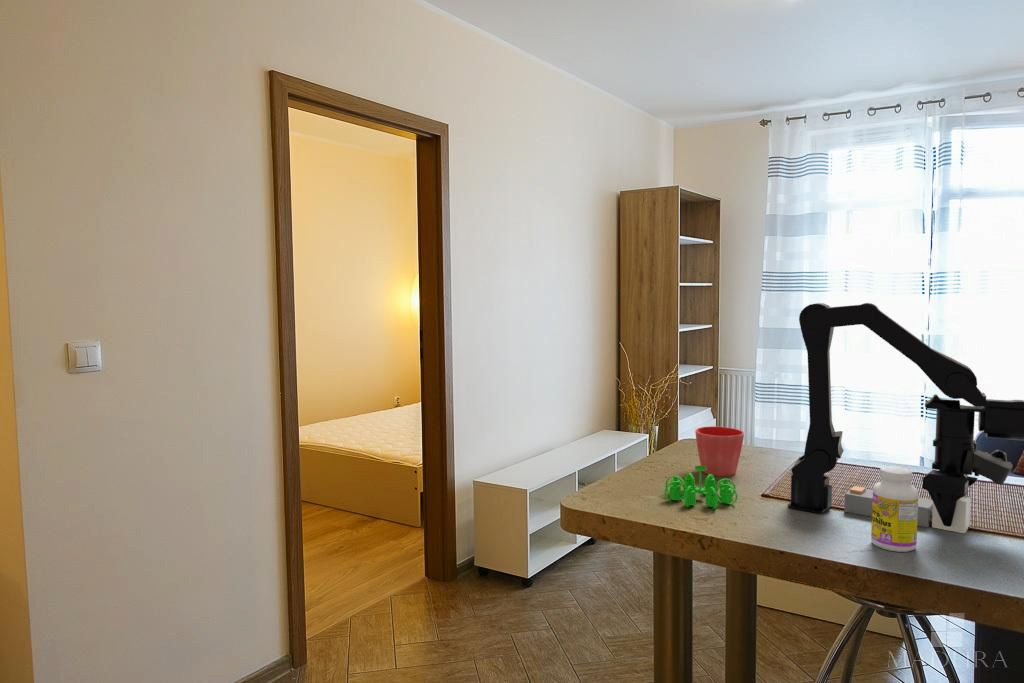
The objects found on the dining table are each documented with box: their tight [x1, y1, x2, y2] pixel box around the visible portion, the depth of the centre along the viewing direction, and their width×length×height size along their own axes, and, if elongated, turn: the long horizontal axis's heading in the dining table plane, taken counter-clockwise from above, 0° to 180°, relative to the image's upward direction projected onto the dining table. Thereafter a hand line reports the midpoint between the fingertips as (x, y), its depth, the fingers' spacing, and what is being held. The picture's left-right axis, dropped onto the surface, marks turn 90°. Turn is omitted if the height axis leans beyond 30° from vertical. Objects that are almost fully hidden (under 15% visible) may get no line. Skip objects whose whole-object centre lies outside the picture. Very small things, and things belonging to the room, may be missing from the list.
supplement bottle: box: [870, 466, 920, 553], centre depth 117 cm, size 7×7×13 cm
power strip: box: [844, 485, 933, 528], centre depth 132 cm, size 14×6×4 cm, turn 49°
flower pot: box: [694, 426, 745, 477], centre depth 164 cm, size 11×11×10 cm
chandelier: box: [664, 465, 738, 510], centre depth 143 cm, size 15×15×7 cm
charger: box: [930, 494, 972, 534], centre depth 127 cm, size 8×5×6 cm, turn 49°
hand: (950, 521), depth 126 cm, fingers open, 6 cm apart
